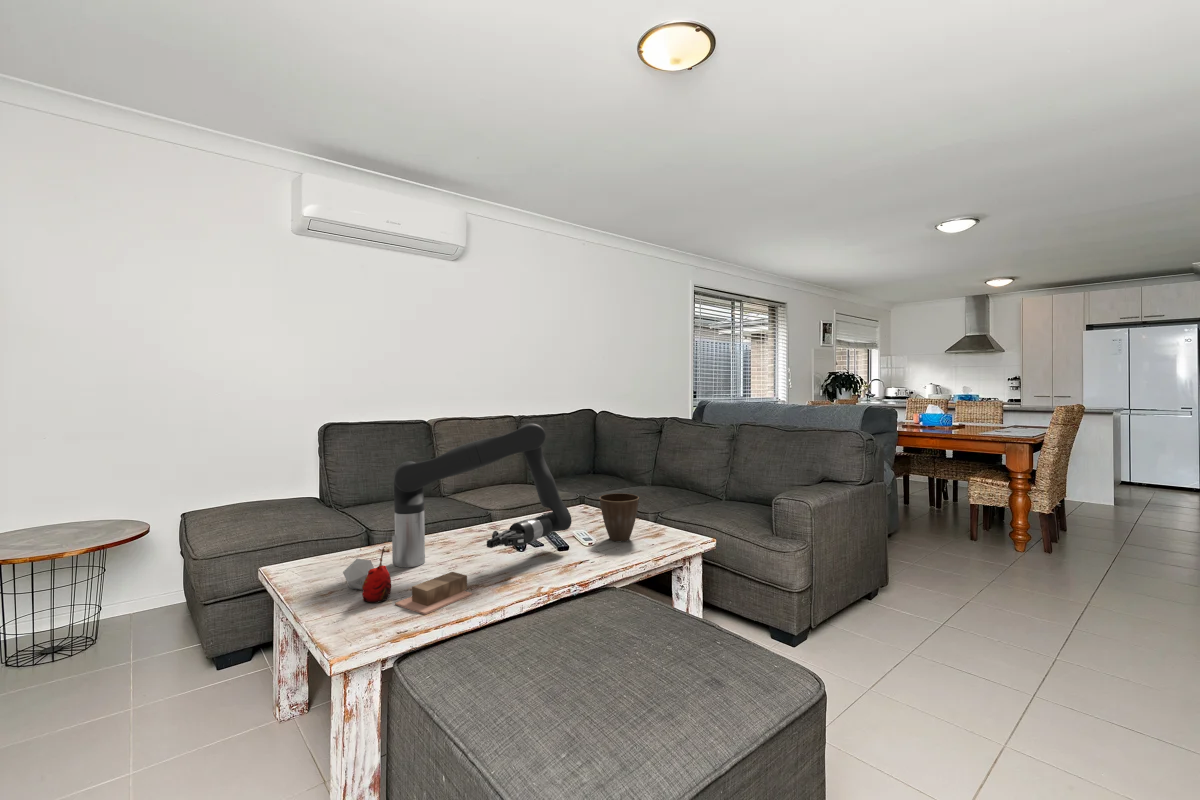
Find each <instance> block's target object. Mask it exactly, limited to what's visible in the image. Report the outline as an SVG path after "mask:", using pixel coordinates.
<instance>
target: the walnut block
mask: <svg viewBox="0 0 1200 800" xmlns="http://www.w3.org/2000/svg"><path fill="white" fill-rule="evenodd" d="M467 590H468V576H467V575H466V574H463V573H459V572H456V571H450V572H448V573H444V574H442V575H439V576H437V577H434V578H431V579H429V580H426V581H424V582H420V583H418V584H417V583H416V584H415V585H412V586H411V597H412V601H413V602H416V603H419V604H422V605H425V606H429V605H431V604H433V603H436V602H438V601H441V600H443V599H445V598H448V597H450V596H453V595H455V594H457V593H460V592H462V591H467Z"/></svg>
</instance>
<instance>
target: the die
mask: <svg viewBox="0 0 1200 800" xmlns="http://www.w3.org/2000/svg"><path fill="white" fill-rule="evenodd" d="M372 562H373V561H372V560H370V559H363V558H356V559H354V561H353V562H352V563H350V565H348V566H347V567H346V569H344V571H342V574H343V576H344V578H345V581H346V582H347V585H348V587H349V589H355V590H360V591H361V590H362V591H363V589H362V586H363V584H364V581H365V579H366V577H367V575H368V571H369V570H370V569H374V568H375V567H374V565H373V563H372Z"/></svg>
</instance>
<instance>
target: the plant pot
mask: <svg viewBox="0 0 1200 800" xmlns="http://www.w3.org/2000/svg"><path fill="white" fill-rule="evenodd" d="M639 499H640V497H639V496H638V495H636V494H632V493H623V492H621V493H619V492H618V493H609V494H608V493H607V494H603V495H601V496H599V503H600V509H601V510H600V511H601V514H602V519H603V522H604V526H605V529H606V533H607V535H608V538H609V540H610V541H611V542H616V541H624V542H627V540H628V541H629V540H630V539H631V535H632V532H633V529H634V527H635V523H636V519H637V514H638V507H639Z"/></svg>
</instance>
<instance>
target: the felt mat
mask: <svg viewBox="0 0 1200 800" xmlns="http://www.w3.org/2000/svg"><path fill="white" fill-rule="evenodd" d="M472 593H473V592H471V591H467V590H465V591H462V592H460V593H457V594H455V595H453V596H450V597H448V598H445V599H443V600H441V601H438V602H436V603H433V604H431V605H429V606H425V605H422V604H419V603H416V602H413V601H412V596H409V597H407V598H404V599H401V600H399V601H396V602H395V603H394V604H395V605H396V606H398V607H401V608H403V609H407V610H409V611H413V612H415V613H418V614H422V615H424V616H425V615H428V614H430V613H432V612H435V611H437V610H440V609H442V608H444V607H446V606H448V605H449V606H450V605H451V604H454V603H456V602H458V601H460V600H463V599H465V598H467V597H470V596H472V595H473V594H472Z"/></svg>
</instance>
